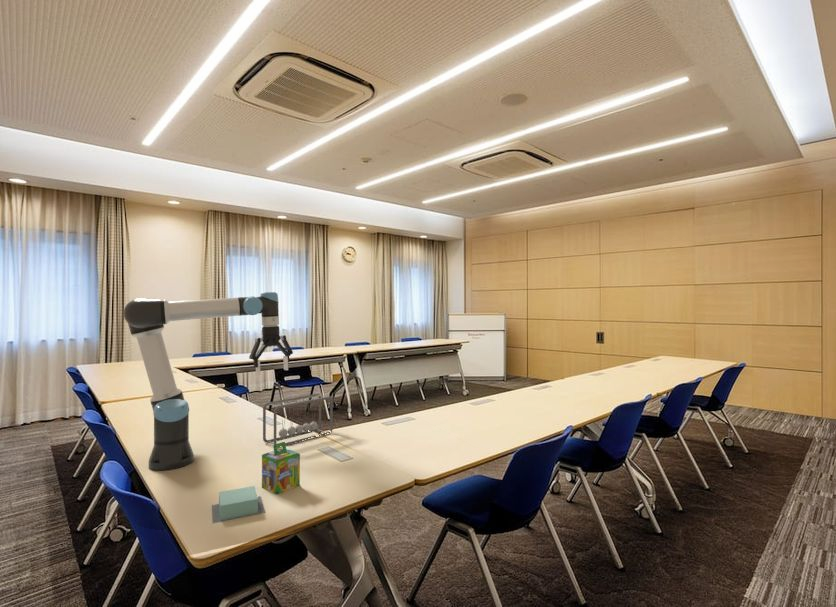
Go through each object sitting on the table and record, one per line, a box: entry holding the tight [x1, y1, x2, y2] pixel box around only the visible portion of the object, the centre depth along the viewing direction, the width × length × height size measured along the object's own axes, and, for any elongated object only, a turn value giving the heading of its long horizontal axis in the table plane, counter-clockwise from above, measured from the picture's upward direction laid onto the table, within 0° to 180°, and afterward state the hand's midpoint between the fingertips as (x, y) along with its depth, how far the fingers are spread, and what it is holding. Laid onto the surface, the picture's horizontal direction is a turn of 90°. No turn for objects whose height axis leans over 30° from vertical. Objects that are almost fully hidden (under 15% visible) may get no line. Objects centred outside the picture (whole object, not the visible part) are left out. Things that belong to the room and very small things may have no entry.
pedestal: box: [218, 485, 259, 520], centre depth 129 cm, size 10×10×4 cm
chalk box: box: [261, 441, 301, 495], centre depth 145 cm, size 9×9×15 cm
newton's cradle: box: [262, 393, 334, 448], centre depth 199 cm, size 30×10×18 cm, turn 137°
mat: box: [211, 495, 266, 524], centre depth 129 cm, size 14×12×1 cm
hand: (272, 372), depth 199 cm, fingers open, 13 cm apart
